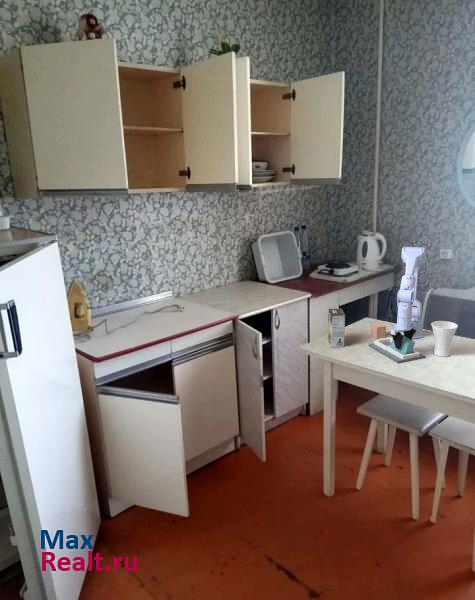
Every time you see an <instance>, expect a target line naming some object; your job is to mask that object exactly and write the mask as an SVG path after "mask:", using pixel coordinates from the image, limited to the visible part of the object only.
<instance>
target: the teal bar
mask: <svg viewBox="0 0 475 600" xmlns="http://www.w3.org/2000/svg"><path fill="white" fill-rule="evenodd" d="M415 344H416V341H415V340H414V339H412V340H411V339H409V338H407V337H405V336H404V337H403V339H402V343H401V348H400V349H397V348H395V343H394V340H393V338H392V343H391V347H390V348H392V349H393V350H395V351H397V352H399V353H401V354H402V355H407V354H412V351H413V349H414V347H415Z"/></svg>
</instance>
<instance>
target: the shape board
mask: <svg viewBox="0 0 475 600" xmlns="http://www.w3.org/2000/svg"><path fill="white" fill-rule="evenodd" d="M392 339H393V337H387V338H386V337H385V338H380V339H375V340H373V343H368V347H369V348H371V349H372V350H375V351H376V352H378V353H379V354H382V355H383V356H384V357H387V358H388V359H390V360H392V361H393V362H395V363H397V364H403V363H408V362H411V361H417V360H421V359H422V360H423V359H426V358H427V357H426V355H425V354H423V353H421V352H419V351H417V350H415V349H414V348H413V351H412V354H407V355H402V354H401V353H399V352H397V351H395V350H393V349H392V348H390V347H391V343H392Z"/></svg>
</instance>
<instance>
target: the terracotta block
mask: <svg viewBox="0 0 475 600" xmlns="http://www.w3.org/2000/svg"><path fill="white" fill-rule="evenodd" d="M386 332H387V325H385V324H383V323H381V322H376V323H370V334H369V335H370V337H371V338H374V339H375V340H380V339H386V337H387V335H386V334H387V333H386Z"/></svg>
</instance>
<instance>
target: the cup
mask: <svg viewBox="0 0 475 600" xmlns="http://www.w3.org/2000/svg"><path fill="white" fill-rule="evenodd" d="M430 326H431V328H432V332H433V333H432V334H433V338H434V349H433V354H434V355H435V356H437V357H442V358H447V357H449V356H450V355H451V347H452V346H451V345H452V341H453V338H454V336H455V334H456V331H457V330H458V327H459V325H458V324H457V323H455V322H452V321H446V320H436V321H435V320H434V321H432V322H431V323H430Z"/></svg>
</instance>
